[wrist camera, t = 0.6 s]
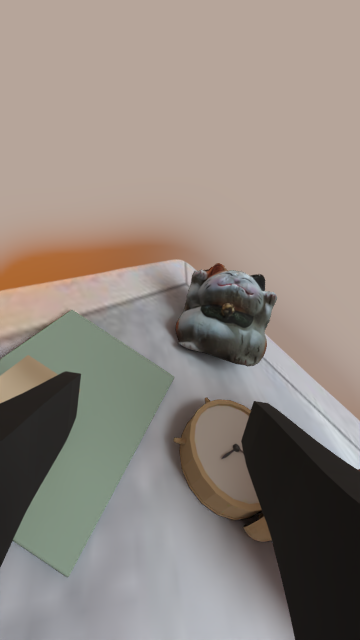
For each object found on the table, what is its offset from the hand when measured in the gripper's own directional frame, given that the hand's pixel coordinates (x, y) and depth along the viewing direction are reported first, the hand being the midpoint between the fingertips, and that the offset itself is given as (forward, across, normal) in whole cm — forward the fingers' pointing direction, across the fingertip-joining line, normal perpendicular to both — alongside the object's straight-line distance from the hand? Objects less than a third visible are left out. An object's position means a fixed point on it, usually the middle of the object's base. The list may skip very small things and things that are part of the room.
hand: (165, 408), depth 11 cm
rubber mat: (+14, +8, +11) cm, 19 cm away
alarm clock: (+14, -11, +16) cm, 24 cm away
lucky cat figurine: (+31, -8, +7) cm, 33 cm away
